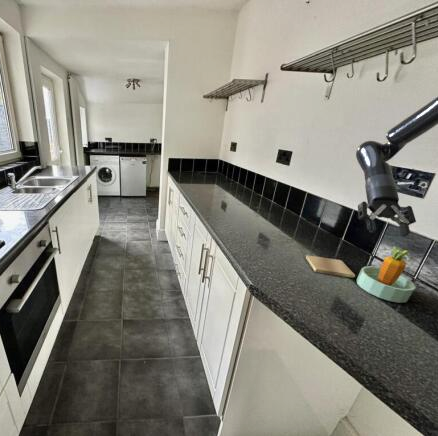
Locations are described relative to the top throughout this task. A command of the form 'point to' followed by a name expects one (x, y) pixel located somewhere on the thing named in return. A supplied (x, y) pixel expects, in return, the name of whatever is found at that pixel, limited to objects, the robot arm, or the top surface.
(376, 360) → the top surface
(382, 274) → the carrot
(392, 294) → the bowl
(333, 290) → the top surface
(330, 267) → the cutting board
